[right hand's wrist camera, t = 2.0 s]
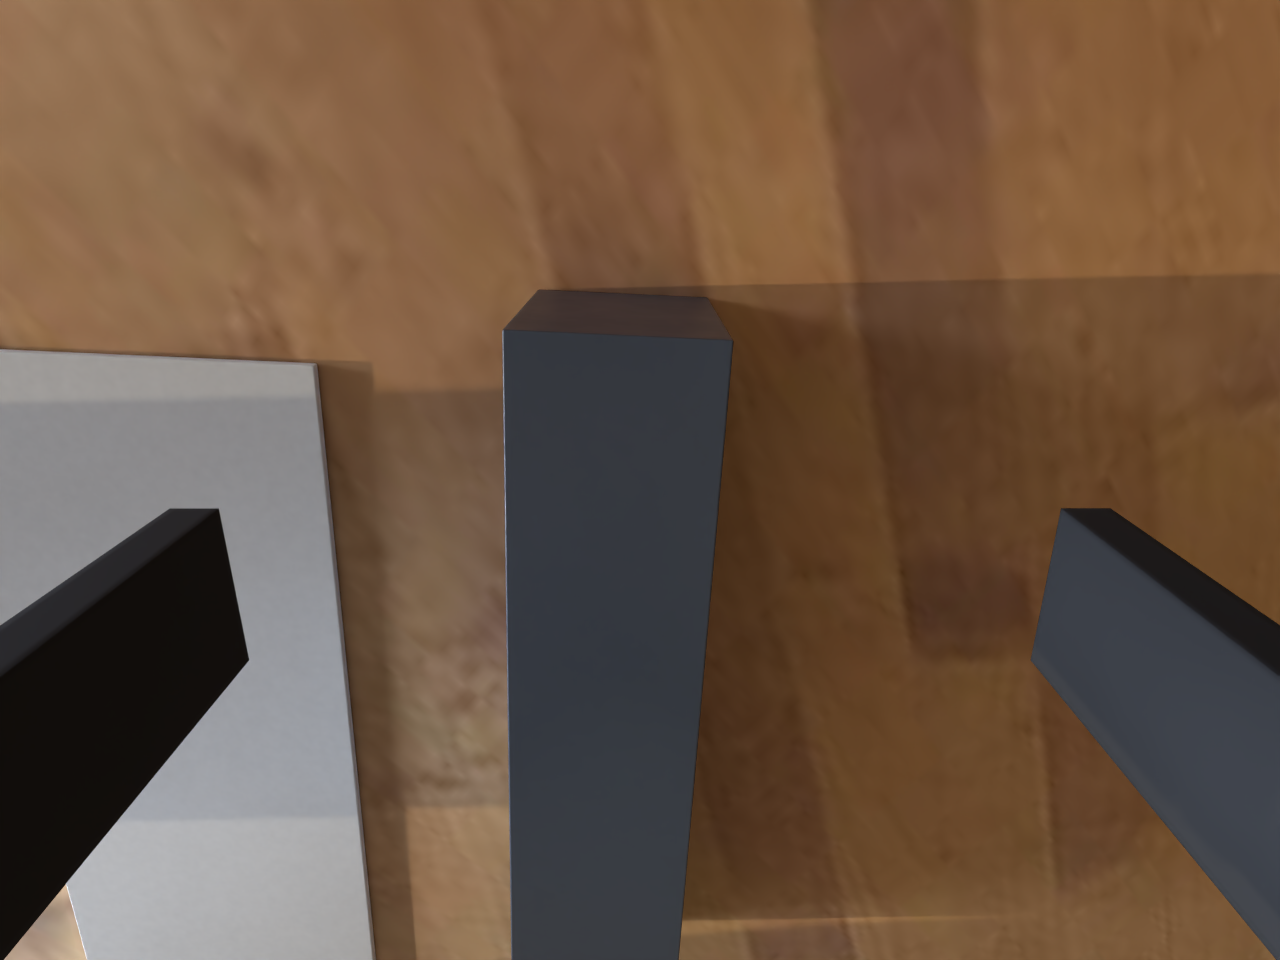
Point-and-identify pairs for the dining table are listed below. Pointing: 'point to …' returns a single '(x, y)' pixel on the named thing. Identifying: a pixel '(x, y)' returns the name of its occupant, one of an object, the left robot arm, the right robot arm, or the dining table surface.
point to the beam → (607, 610)
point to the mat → (274, 633)
